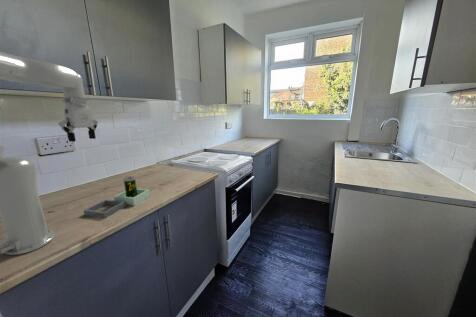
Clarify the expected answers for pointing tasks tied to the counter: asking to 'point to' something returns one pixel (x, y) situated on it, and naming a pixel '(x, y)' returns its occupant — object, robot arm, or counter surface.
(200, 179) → the counter surface
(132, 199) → the green bin
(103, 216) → the tray
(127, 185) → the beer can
